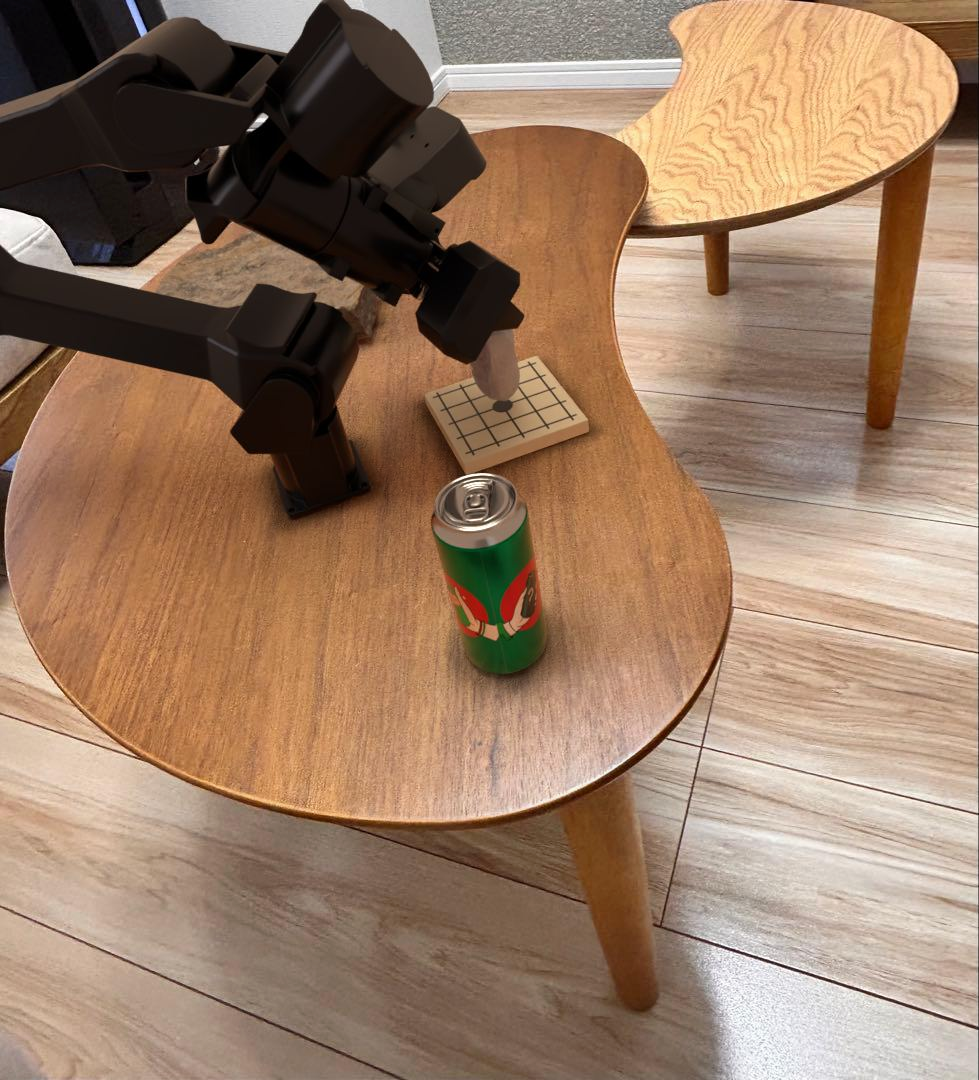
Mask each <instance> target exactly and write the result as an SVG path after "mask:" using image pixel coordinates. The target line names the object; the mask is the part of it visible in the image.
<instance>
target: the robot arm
mask: <svg viewBox="0 0 979 1080" xmlns="http://www.w3.org/2000/svg"><path fill="white" fill-rule="evenodd" d="M434 99H435V90H434V84H433V81H432V79H431V76H430V74H429V72H428V70H427V67H426V66H425V64H424V62H423V61H422V58H420V56H419V55H418V54H417V51H415V49H414V48H413V47H412V45H411V44H410V43H409V42H408V41H407V39H406V38H405V37H404V36H403V35H402V34H401V32H400V31H398V30H397V29H395V28H392V29H391V28H389V27H388V26H387V25H386V24H385V23H384V22H382V21H381V20H379V19H378V18H376V17H375V16H373V15H371V14H370V13H368V12H365V11H364V10H360V9H356V8H352V7H351V6H350V5H349V3H348V2H346V0H321V1H320V2H319V3H318V4H317V6H316V7H315V8H314V10H313V11H312V12H311V14H310V15H309V17H307V19H306V21H305V24H304V26H303V28H302V31H301V33H300V35H299V37H298V38H297V40H296V41H295V43H294V44H293V45H292V47H291V48H290V49H289V50H288V52H285V51H279V50H275V49H270V48H264V47H260V46H256V45H250V44H246V43H242V42H237V41H232V40H227V39H223V37H221V35H220V34H218V32H217V31H215V30H213V29H212V28H210V27H208V26H206V25H204V23H202V21H200V19H198V18H195V17H190V16H189V17H188V16H177V17H171V18H169V19H167V20H165V21H163V22H162V23H160V24H159V25H157V26H155V27H153V28H152V29H151V30H150V31H148V32H147V33H145V34H144V35H142V36H140V37H139V38H137V39H136V40H134V41H132V42H131V43H130V44H128V45H127V46H125V47H124V48H122V49H121V50H119V51H118V52H116V53H114V54H113V55H112V56H110V57H108V58H107V59H106V60H104V61H103V62H101V63H100V64H98V65H97V66H95V67H94V68H92V69H91V70H90V71H88V72H86V73H84V74H83V75H81V76H80V77H79V78H77V79H74V80H71V81H68V82H65V83H62V84H60V85H56V86H53V87H50V88H47V89H44V90H41V91H38V92H35V93H32V94H29V95H26V96H23V97H20V98H16V99H13V100H10V101H8V102H5V103H2V104H0V192H2V191H6V190H9V189H13V188H17V187H20V186H23V185H26V184H30V183H33V182H37V181H40V180H41V181H42V180H44V179H48V178H52V177H55V176H58V175H62V174H65V173H68V172H73V171H75V170H78V169H82V168H87V167H101V166H105V167H109V168H112V169H117V170H119V171H122V172H126V173H137V172H138V173H139V172H154V171H155V172H156V171H170V170H180V169H185V168H187V167H190V166H191V165H193V164H195V163H196V162H197V161H198V160H199V159H200V158H201V157H202V156H203V155H204V154H205V153H206V152H207V151H208V149H215V148H220V147H227V148H225V150H224V151H223V153H222V154H221V156H220V157H219V158H218V159H217V160H216V162H214V164H213V165H212V166H210V167H209V168H208V169H206V170H204V171H202V172H200V173H196V174H189V175H186V176H185V178H184V184H185V205H186V207H187V208H188V209H189V210H190V213H191V214H192V215H193V217H194V219H195V222H196V225H197V228H198V232H199V235H200V240H201V242H202V243H203V244H205V245H213V244H214V243H215V242H216V241H217V240H218V239H219V237H220V236H221V235H222V234H223V233H224V232H225V230H226V229H227V228H228V226H230V224H232V223H235V224H236V225H238V226H240V227H243V228H245V229H246V230H248V231H253V232H255V233H257V234H259V235H261V236H263V237H265V238H267V239H269V240H271V241H273V242H275V243H277V244H280V245H282V246H284V247H286V248H288V249H290V250H292V251H294V252H296V253H298V254H300V255H302V256H304V257H306V258H308V259H310V260H312V261H314V262H316V263H317V264H318V265H319V266H320V267H321V268H322V269H323V270H324V271H325V272H326V273H327V274H328V275H330V276H332V277H334V278H336V279H338V280H340V281H342V282H343V280H344V278H345V277H347V278H349V279H351V280H353V281H355V282H357V283H359V284H362V285H364V286H366V287H368V288H370V290H371V289H372V290H371V291H373V292H374V293H375V295H376V297H378V298H379V299H380V300H381V301H382V302H384V303H386V304H388V305H391V306H392V307H395V308H396V307H397V305H398V304H399V302H400V300H401V298H402V296H403V295H408V296H412V297H413V298H414V299H416V300H418V301H419V302H420V301H421V302H420V303H419V305H418V307H417V309H416V311H415V312H414V316H415V319H416V323H417V328H418V333H420V334H421V336H423V337H424V338H425V339H426V340H427V341H428V342H430V343H431V344H432V345H433V346H434V347H435V348H436V349H437V350H439V351H440V352H441V353H442V354H443V355H444V356H447V357H448V358H451V359H452V360H455V361H457V362H460V363H462V364H464V365H466V366H467V365H470V363H472V362H474V361H476V360H477V358H478V356H479V354H480V353H481V351H482V349H483V348H484V346H485V344H486V343H487V341H488V339H489V337H490V336H491V334H492V332H494V331H503V330H511V329H513V330H518V328H519V327H520V326H521V325H522V322H523V321H524V319H525V313H523V312H522V310H520V309H519V308H518V306H516V305H515V303H513V301H512V300H513V298H514V296H515V295H516V293H517V292H518V290H519V288H520V286H521V272H520V271H518V270H517V269H515V268H514V267H512V266H511V265H509V264H508V263H506V262H505V261H504V260H502V259H501V258H499V257H498V256H497V255H495V254H493V253H491V252H490V251H488V250H487V249H485V248H484V247H482V246H480V245H479V244H477V243H476V242H474V241H472V240H467V241H465V242H462V243H460V244H457V243H451V244H449V245H448V246H447V247H446V248H445V246H443V245H442V244H441V242H440V235H441V232H442V231H443V229H444V227H445V225H446V223H447V222H446V221H444V219H441V218H440V217H438V216H437V215H436V214H434V213H437V212H439V211H441V210H443V209H444V208H445V207H446V206H447V205H448V204H449V203H450V202H451V201H452V200H453V199H454V198H455V197H456V196H457V195H458V194H460V192H461V191H462V190H463V189H464V188H465V187H466V186H467V185H468V184H469V183H470V182H471V181H476V180H478V178H479V177H480V176H481V175H482V174H483V173H484V172H485V170H486V168H487V164H488V162H487V160H486V158H485V156H484V155H483V153H482V152H481V150H480V148H479V146H478V145H477V144H476V142H475V140H474V139H473V137H472V136H471V134H470V132H469V131H468V129H467V128H466V126H465V124H464V123H463V121H462V120H461V118H459V117H457V116H455V115H453V114H451V113H449V112H447V111H445V110H443V109H441V108H440V107H438V106H430V105H431V104H432V103H433V101H434ZM263 114H264V115H265V116H267V118H266V119H265V120H264V121H263V122H262V123H261V124H260V125H258V127H255V128H254V129H253V130H249V129H250V128H251V127H252V126H253V124H255V122H256V121H257V120H258V119H260V117H261V116H262V115H263ZM316 297H317V294H316V293H315V292H311V293H304V294H302V293H293V292H289V291H286V290H283V289H281V288H278V287H275V286H273V285H269V284H256V285H255V286H254V288H253V289H252V291H251V292H250V294H249V295H248V297H247V298H246V300H245V301H244V303H243V304H242V305H240V306H235V307H229V308H224V307H217V306H212V305H208V304H203V303H199V302H194V301H190V300H185V299H181V298H176V297H172V296H167V295H163V294H158V293H156V292H153V291H149V290H145V289H141V288H136V287H133V286H132V287H131V286H127V285H124V284H123V285H122V284H118V283H115V282H109V281H104V280H100V279H96V278H91V277H87V276H82V275H77V274H73V273H69V272H66V271H65V272H64V271H60V270H55V269H51V268H46V267H41V266H37V265H33V264H29V263H28V264H27V263H24V262H22V261H19V260H18V259H16V257H14V255H13V254H11V253H10V252H9V251H8V250H7V249H6V248H5V247H4V246H2V244H0V336H1V337H2V336H3V337H4V336H5V337H6V336H7V337H13V338H18V339H23V340H26V341H27V340H28V341H32V342H36V343H40V344H45V345H49V346H54V347H59V348H63V349H67V350H71V351H76V352H80V353H84V354H89V355H93V356H98V357H103V358H107V359H112V360H116V361H121V362H126V363H129V364H134V365H138V366H143V367H147V368H151V369H156V370H160V371H165V372H170V373H175V374H179V375H183V376H186V377H187V376H188V377H192V378H195V379H201V380H205V381H208V382H210V383H212V384H213V385H214V386H215V387H216V388H217V389H219V390H220V392H222V393H223V394H224V395H225V396H226V397H228V399H230V400H231V401H232V402H233V403H234V404H235V405H236V406H237V407H239V408H240V413H239V414H238V416H237V418H236V420H235V422H234V423H233V425H232V427H231V428H230V431H229V434H230V435H231V436H232V437H233V438H234V440H235V442H237V443H238V444H239V446H240V447H241V448H242V449H243V451H245V452H246V453H247V454H249V455H269V456H270V459H271V461H272V463H273V466H272V472H273V475H274V477H275V482H276V485H277V489H278V493H279V495H280V498H281V502H282V505H283V508H284V512H285V514H286V516H287V518H288V519H290V520H291V519H292V520H293V519H297V518H299V517H302V516H305V515H308V514H310V513H314V512H316V511H319V510H322V509H324V508H327V507H330V506H333V505H336V504H339V503H342V502H345V501H347V500H350V499H353V498H356V497H360V496H362V495H364V494H367V493H370V492H371V490H372V484H371V481H370V479H369V476H368V474H367V472H366V469H365V467H364V465H363V463H362V461H361V457H360V455H359V453H358V451H357V448H356V447H355V444H354V441H353V440H351V439H349V438H348V435H347V432H346V429H345V425H344V422H343V420H342V416H341V413H340V409H339V408H338V405H337V403H338V401H339V400H340V399H339V398H340V396H341V394H342V392H343V390H344V389H345V386H346V384H347V382H348V379H349V377H350V375H351V374H352V371H353V369H354V367H355V365H356V362H357V360H358V357H359V353H360V343H359V339H358V337H357V335H356V333H355V331H354V329H353V327H352V326H351V325H350V324H349V322H348V321H347V320H346V319H345V318H344V315H343V313H342V312H341V311H339V310H338V309H336V308H334V307H333V306H330V305H327V304H325V303H322V302H315V299H316Z"/></svg>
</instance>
